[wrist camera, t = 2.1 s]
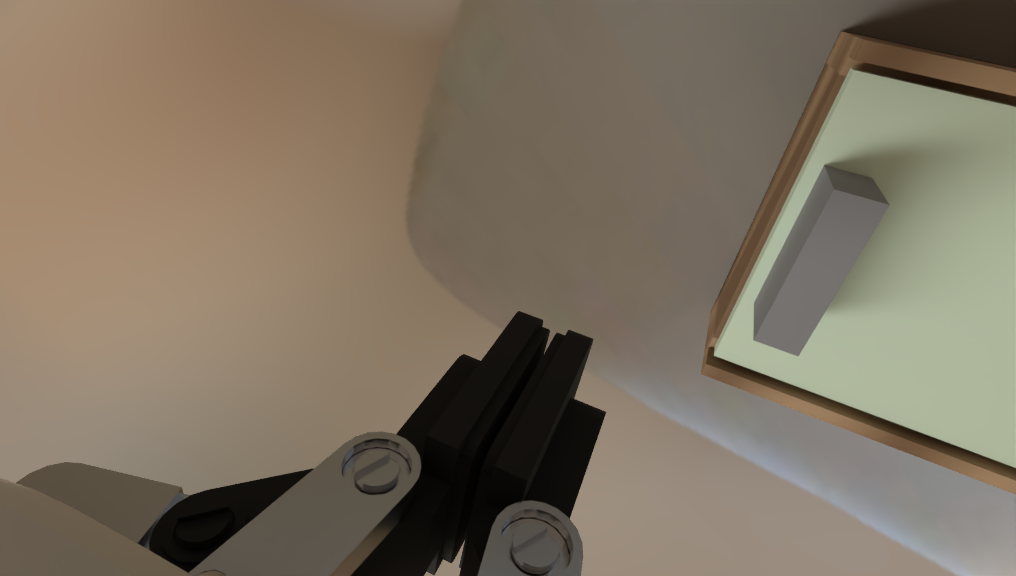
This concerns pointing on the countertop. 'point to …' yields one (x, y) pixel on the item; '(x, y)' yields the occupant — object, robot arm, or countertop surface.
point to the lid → (896, 266)
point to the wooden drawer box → (844, 55)
